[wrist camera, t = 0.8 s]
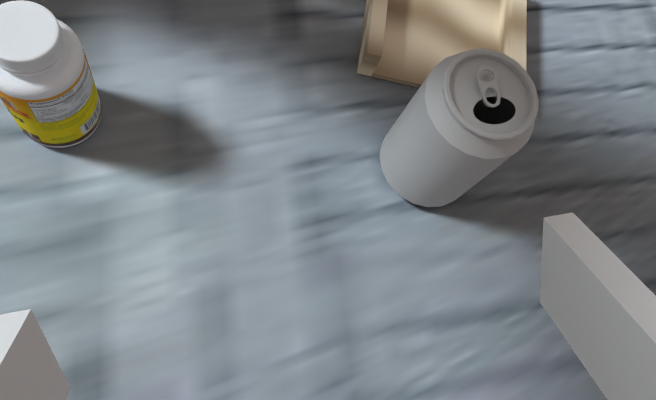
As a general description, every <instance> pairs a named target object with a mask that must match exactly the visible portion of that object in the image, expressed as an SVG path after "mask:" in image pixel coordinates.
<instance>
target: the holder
mask: <svg viewBox="0 0 656 400" xmlns="http://www.w3.org/2000/svg"><path fill="white" fill-rule="evenodd" d="M526 33H527V0H366V6H365V14H364V22H363V30H362V38H361V46H360V53H359V61H358V69H357V73H358V74H362V75H367V76H371V77H375V78H379V79H384V80H388V81H392V82H397V83H401V84H405V85H409V86H414V87H418V88H420V86H421V85H422V83H423V82H424V81H425V79H426V78H427V76H428V75H429V74H430V72H431V71H432V69H433V68H434V67H435V66H436V65H437V64H439V63H440V62H441V61H442V60H444V59H445V58H446V57H449V56H452V55H456V54H459V53H461V52H465V51H468V50H471V49H474V48H479V49H491V50H495V51H498V52H501V53H504V54H505V55H507V56H509V57H510V58H512V59H514V60H515V61H517V62H518V63H519V64H520V65H521V66H522V67H523V68H524V69H525V70H526Z"/></svg>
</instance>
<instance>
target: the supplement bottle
mask: <svg viewBox="0 0 656 400" xmlns="http://www.w3.org/2000/svg"><path fill="white" fill-rule="evenodd" d="M0 98H1V100H2V101H3V103H4V104H5V106H6V107H7V109H8V110H9V112H10V113H11V115H12V116H13V118H14V119H15V121H16V122H17V124H18V125H19V127H20V128H21V129H22V131H23V132H24V133H25V134H26V135H27V136H28V137H29V138H30V139H32V140H33V141H35V142H37V143H39V144H41V145H44V146H48V147H54V148H63V147H70V146H73V145H76V144H79V143H81V142H83V141H84V140H86V139H87V138H88V137H90V136H91V135H92V134H93V133H94V131H95V130H96V128H97V127H98V125H99V123H100V119H101V114H102V108H101V102H100V99H99V96H98V92H97V89H96V86H95V83H94V80H93V77H92V74H91V71H90V68H89V65H88V62H87V59H86V56H85V53H84V50H83V47H82V44H81V42H80V40H79V38H78V36H77V35H76V34H75V32H74V31H73V30H72V29H71V28H70V27H69V26H67V25H66V24H65V23H63V22H62V21H60V20H58V19H56V17H55V16H54V15H53V13H52V12H51V11H49V10H48V9H47V8H45V7H44V6H42V5H40V4H37V3H34V2H31V1H24V0H19V1H10V2H6V3H3V4H1V5H0Z"/></svg>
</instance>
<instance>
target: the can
mask: <svg viewBox="0 0 656 400" xmlns="http://www.w3.org/2000/svg"><path fill="white" fill-rule="evenodd" d="M538 105H539V98H538V94H537V91H536V87H535V84H534V83H533V81H532V79H531V78H530V76H529V74H528V72H527V71H526V70H525V69H524V68H523V67H522V66H521V65H520V64H519V63H518V62H517V61H515V60H514V59H512V58H510V57H509V56H507V55H505V54H504V53H501V52H498V51H495V50H491V49H479V48H474V49H471V50H468V51H465V52H461V53H459V54H456V55H452V56H449V57H446V58H445V59H444V60H442V61H441V62H440V63H439V64H437V65H436V66H435V67H434V68H433V69H432V71H431V72H430V74H429V75H428V76H427V78H426V79H425V81H424V82H423V83H422V85H421V86H420V88H419V89H418V91H417V92H416V93H415V95H414V96H413V98H412V99H411V100H410V102H409V103H408V105H407V106H406V107H405V109H404V110H403V112H402V113H401V114H400V116H399V117H398V119H397V120H396V121H395V123H394V124H393V126H392V127H391V128H390V130H389V131H388V133H387V135H386V136H385V138H384V140H383V142H382V145H381V151H380V162H381V168H382V172H383V174H384V176H385V178H386V180H387V182H388V184H389V185H390V186H391V187H392V188H393V189H394V190H395V191H396V192H397V193H398V195H399V196H401V197H403V198H404V199H406V200H408V201H409V202H411V203H413V204H417V205H421V206H424V207H439V206H444V205H446V204H448V203H451V202H453V201H455V200H456V199H457V198H459V197H460V196H461V195H463V194H464V193H465V192H466V191H468V190H469V189H470V188H472V187H473V186H474V185H475V184H477V183H478V182H479V181H481V180H482V179H483V178H485V177H486V176H487V175H488V174H490V173H491V172H492V171H494V170H495V169H496V168H497V167H499V166H500V165H501V164H503V163H504V162H505V161H506V160H508V159H509V158H510V157H512V156H513V155H514V154H515V153H517V152H518V151H519V150H520V149H521V148H522V147H523V146H524V145H525V144H526V143H527V142H528V141H529V139H530V136H531V134H532V132H533V130H534V126H535V119H536V117H537V114H538Z"/></svg>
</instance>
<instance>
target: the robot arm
mask: <svg viewBox="0 0 656 400" xmlns="http://www.w3.org/2000/svg"><path fill="white" fill-rule="evenodd" d="M540 303H541V305H542V306H543V308H544V309H545V310H546V312H547V313H548V315H549V316H550V318H551V319H552V321H553V322H554V323H555V325H556V326H557V328H558V329H559V331H560V332H561V334H562V335H563V336H564V338H565V339H566V341H567V342H568V344H569V345H570V347H571V348H572V349H573V351H574V352H575V354H576V355H577V357H578V358H579V360H580V361H581V362H582V364H583V365H584V367H585V368H586V370H587V371H588V372H589V374H590V375H591V377H592V378H593V380H594V381H595V383H596V384H597V385H598V387H599V388H600V390H601V391H602V393H603V394H604V396H605V397H606V398H607V400H656V296H655V295H654V294H653V292H652V291H651V290H650V289H649V288H648V287H647V286H646V285H645V284H644V283H643V282H642V281H641V280H640V279H639V278H638V277H637V276H636V275H635V274H634V273H633V272H632V271H631V270H630V269H629V268H628V267H627V266H626V265H625V264H624V263H623V262H622V261H621V260H620V259H619V258H618V257H617V256H616V255H615V254H614V253H613V252H612V251H611V250H610V249H609V248H608V247H607V246H606V245H605V244H604V243H603V242H602V241H601V240H600V239H599V238H598V237H597V236H596V235H595V234H594V233H593V232H592V231H591V230H590V229H589V228H588V227H587V226H586V225H585V224H584V223H583V222H582V221H581V220H580V219H579V218H578V217H577V216H576V215H575V214H574V213H573V212H572V213H566V214H560V215H555V216H549V217H544V219H543V240H542V261H541V282H540ZM69 390H70V386H69V384H68V382H67V380H66V378H65V376H64V374H63V372H62V370H61V368H60V366H59V364H58V362H57V360H56V358H55V356H54V354H53V352H52V350H51V348H50V346H49V344H48V342H47V340H46V338H45V336H44V334H43V332H42V330H41V328H40V326H39V324H38V322H37V320H36V318H35V316H34V314H33V312H32V310H31V309H29V310H23V311H18V312H12V313H7V314H1V315H0V400H66V397H67V395H68V392H69Z"/></svg>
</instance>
